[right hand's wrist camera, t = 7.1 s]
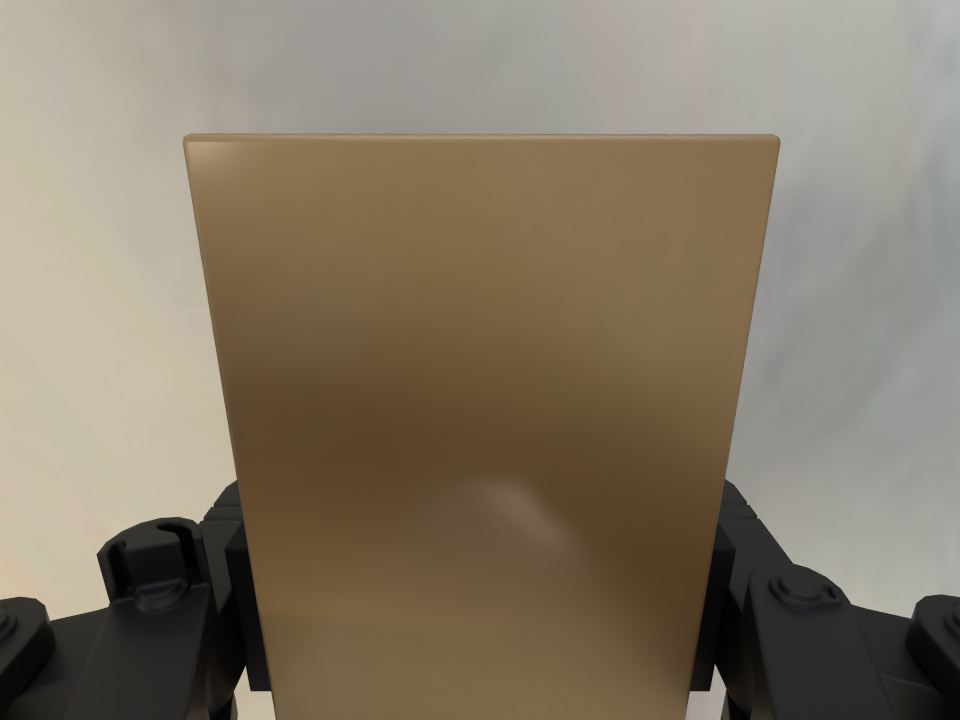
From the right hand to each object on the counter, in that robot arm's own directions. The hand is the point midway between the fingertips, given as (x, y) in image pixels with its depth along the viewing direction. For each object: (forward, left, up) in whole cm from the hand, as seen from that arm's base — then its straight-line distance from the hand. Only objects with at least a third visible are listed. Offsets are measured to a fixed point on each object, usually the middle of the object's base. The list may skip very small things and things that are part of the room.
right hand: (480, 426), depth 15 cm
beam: (+8, -24, -1) cm, 26 cm away
